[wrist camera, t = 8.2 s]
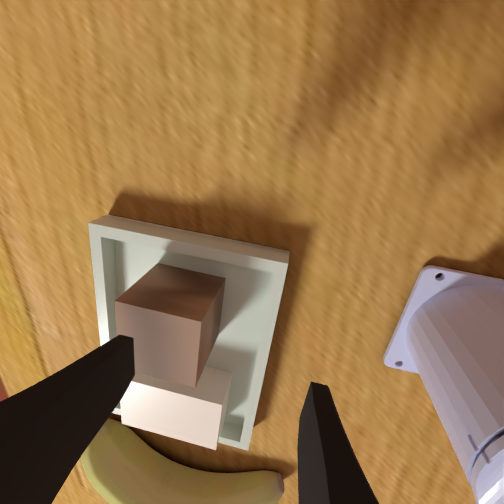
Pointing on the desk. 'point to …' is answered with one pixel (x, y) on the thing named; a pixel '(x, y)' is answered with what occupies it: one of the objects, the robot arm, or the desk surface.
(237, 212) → the desk surface
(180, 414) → the pale pink block
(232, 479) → the banana
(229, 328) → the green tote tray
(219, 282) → the walnut block
